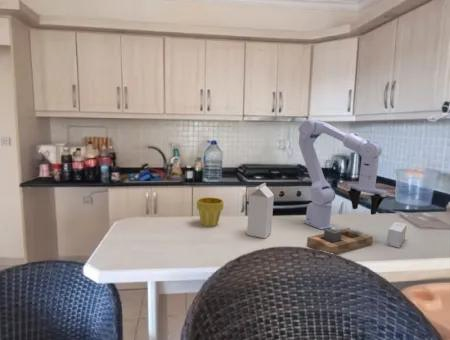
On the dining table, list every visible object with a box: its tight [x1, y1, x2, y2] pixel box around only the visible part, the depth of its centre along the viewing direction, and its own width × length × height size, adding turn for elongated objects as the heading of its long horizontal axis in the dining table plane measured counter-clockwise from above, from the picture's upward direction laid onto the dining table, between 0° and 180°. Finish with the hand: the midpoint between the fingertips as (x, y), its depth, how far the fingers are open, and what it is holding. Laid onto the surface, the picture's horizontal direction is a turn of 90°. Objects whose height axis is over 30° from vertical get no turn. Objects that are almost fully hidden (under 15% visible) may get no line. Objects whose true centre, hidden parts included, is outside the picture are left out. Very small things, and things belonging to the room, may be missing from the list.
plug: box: [323, 226, 342, 243], centre depth 108 cm, size 4×4×7 cm
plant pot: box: [196, 196, 224, 228], centre depth 126 cm, size 10×10×10 cm
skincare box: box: [386, 221, 407, 248], centre depth 117 cm, size 6×4×12 cm
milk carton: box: [246, 182, 275, 239], centre depth 117 cm, size 7×7×19 cm
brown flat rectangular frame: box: [306, 227, 374, 256], centre depth 111 cm, size 10×22×3 cm, turn 123°
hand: (363, 211), depth 119 cm, fingers open, 7 cm apart
